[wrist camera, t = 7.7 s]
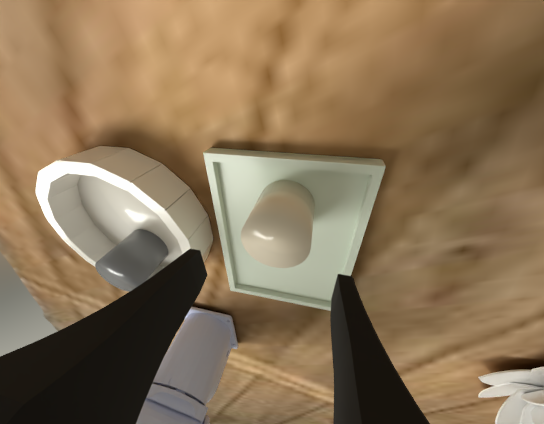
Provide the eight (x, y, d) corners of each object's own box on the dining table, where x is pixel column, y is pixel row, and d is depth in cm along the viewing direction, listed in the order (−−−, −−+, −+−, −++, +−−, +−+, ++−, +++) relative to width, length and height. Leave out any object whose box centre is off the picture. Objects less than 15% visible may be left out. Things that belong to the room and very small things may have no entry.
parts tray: (338, 302, 23) (339, 312, 22) (234, 281, 25) (230, 290, 24) (381, 159, 13) (385, 166, 12) (210, 147, 16) (203, 152, 15)
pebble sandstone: (312, 231, 17) (307, 273, 14) (260, 224, 18) (243, 261, 15) (318, 182, 15) (314, 219, 11) (258, 177, 16) (237, 209, 12)
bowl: (222, 276, 25) (208, 303, 22) (116, 256, 28) (92, 278, 25) (194, 152, 16) (166, 170, 13) (45, 141, 19) (-3, 154, 16)
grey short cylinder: (173, 261, 24) (146, 295, 20) (140, 255, 25) (108, 286, 21) (161, 232, 21) (128, 264, 18) (125, 226, 22) (86, 256, 19)
